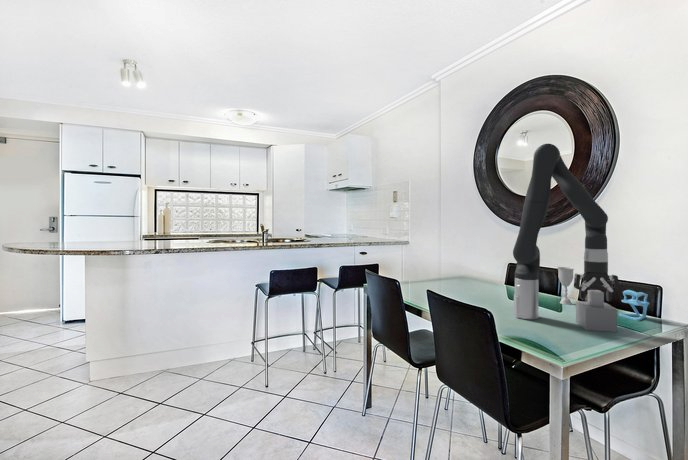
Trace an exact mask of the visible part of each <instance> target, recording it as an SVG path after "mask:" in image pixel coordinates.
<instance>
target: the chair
mask: <svg viewBox="0 0 688 460" xmlns="http://www.w3.org/2000/svg"><path fill="white" fill-rule="evenodd" d="M622 295H623V296H624V297H623V299H621V303H624V304H628V305H630V307H631V308H632V309H633V311H634V313H618V316H619V317H620V318H621V317H622V318H625V319H628V320H631V321H637V322H639V321H641V320H644V319H646V318H647V311H648V307H649V305H650V302H648V300H647V299H648V295H649V294H647V293H645V292H642V291H639V292H638V291H637V292H636V291H635V290H631V289H626V290H623V291H622ZM627 296H631V298H630V299H628V298H627ZM643 296H644V298H643V300H639V298H640V297H643ZM636 306H638V307H639V306H640V307H642V315H641V314H640V312H639V311H638V309H637V307H636Z"/></svg>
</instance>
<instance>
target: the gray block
mask: <svg viewBox="0 0 688 460" xmlns="http://www.w3.org/2000/svg"><path fill="white" fill-rule="evenodd" d="M587 294H588V302H585V301H584V300H581V301H577V300H576V301H575V322H576V323H577V324H578V325H579V326H580V327H581V328H583V329H584V330H585V331H597V332H611V333H618V309H617V308H616V307H614V306H612V305H611V304H609V303H607V302H605V292H603V291H602V290H598V289H596V290H591V289H587Z"/></svg>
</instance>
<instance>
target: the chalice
mask: <svg viewBox="0 0 688 460" xmlns="http://www.w3.org/2000/svg"><path fill="white" fill-rule="evenodd" d="M574 270H575V268H574V267H569V266H568V267H567V266H566V267H565V266H558V267H557V271H558V272H557V273H558V280H559V282H560V283H561V285H562V286H563V287H564V289H563V295H564V297H563V298H561V300H560V302H559V303H560V304H562V305H572V302H571V299H570V298H568V287H570V285H571V283H572V282H573V281H574V280H573V279H574Z"/></svg>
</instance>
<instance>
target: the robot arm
mask: <svg viewBox="0 0 688 460" xmlns="http://www.w3.org/2000/svg"><path fill="white" fill-rule="evenodd" d="M560 152H561V151H560V149H559V148H558V146H556V145H554V144H552V143H543V144H542V145H539V146H538V147H537V148H536V150H535V151H534V153H533V161H532V171H531V177H530V182H529V184H528V186H527V191H526V194H525V198H524V202H523V208H522V212H521V219H520V225H519V231H518V235H517V238H516V241H515V244H514V246H513V250H512V255H513V258H514V260H515V261H516V268H515V271H514V293H513V315H514V316H515V318H516V319H524V320H539V316H540V315H539V312H540V311H539V304H540V303H539V275H540V271H541V270H540V269H541V266H540V265H541V253H540V248H539V246H538V245H537V242H538V236H539V232H540V230H541V228H542V226H543V224H544V222H545V219H546V217H547V215H548V211H549V206H550V200H551V195H552V194H551V192H552V190H551V189H552V187H551V186H552V179H553V180H554V181H555V182H556V184H557V185H558V187H559V188H560V190H561V192H562V193H563V195H564V196H565V197H566V199H568V201H569V202H570V204H571V205H572V206H573V208H575V209H576V210H577V211H578V213H579V214H580V216H581V217H582V218H583V220H584V230H585V239H584V253H583V271H584V272H583V274H579V273H574V276H573V279H574V280H573V288H574V289H576V290H578V291H579V292H578V294H579V297H578V298H580V299H581V301H585V297H586V289H587V288H589V287H590V286H593V287H594V286H597V287H601V286H602V287H604V288H605V289H606V291H605V299H606V301H607V302H611V301H613V292H615V291H617V292H618V291H619V289H620V288H619V287H620V286H619V285H620V284H619V277H618V275H616V274H608V273H609V253H608V236H607V223H608V221H609V216H608V214H607V213H606V212H605V210H604V209H603V208H602V207H601V206H600V205H599V204H598V203H597V201H595V199H594V198H593V196H592V195H591V194H590V192H589V191H588V190H587V189H586V187H585V186H584V184H582V182H581V181H580V180H578V178H577V177H576V176H575V175H574V174H573V173H572V172H571V170H570V169H569V168H568V166H567V165H566V164H565V163H566V162H564V160H563V157H562V155H561V153H560ZM582 279H584V281H583V282H582V283H581V280H582ZM608 280H610V281H611V285H610V284H609V283H608V282H607V281H608Z"/></svg>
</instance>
